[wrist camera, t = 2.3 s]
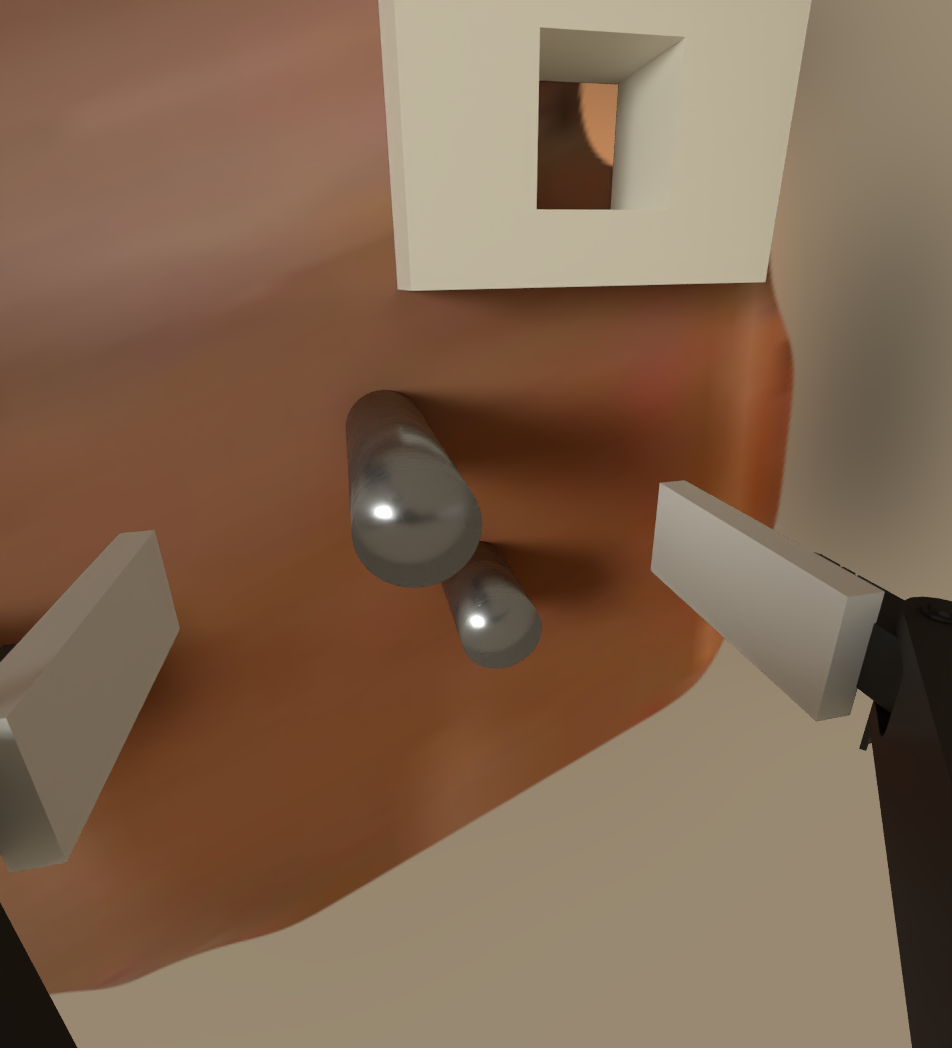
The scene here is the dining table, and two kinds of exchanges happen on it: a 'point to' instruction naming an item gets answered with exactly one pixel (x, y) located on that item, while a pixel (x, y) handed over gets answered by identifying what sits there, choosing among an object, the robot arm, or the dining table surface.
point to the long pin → (406, 495)
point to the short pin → (492, 610)
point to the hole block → (640, 138)
